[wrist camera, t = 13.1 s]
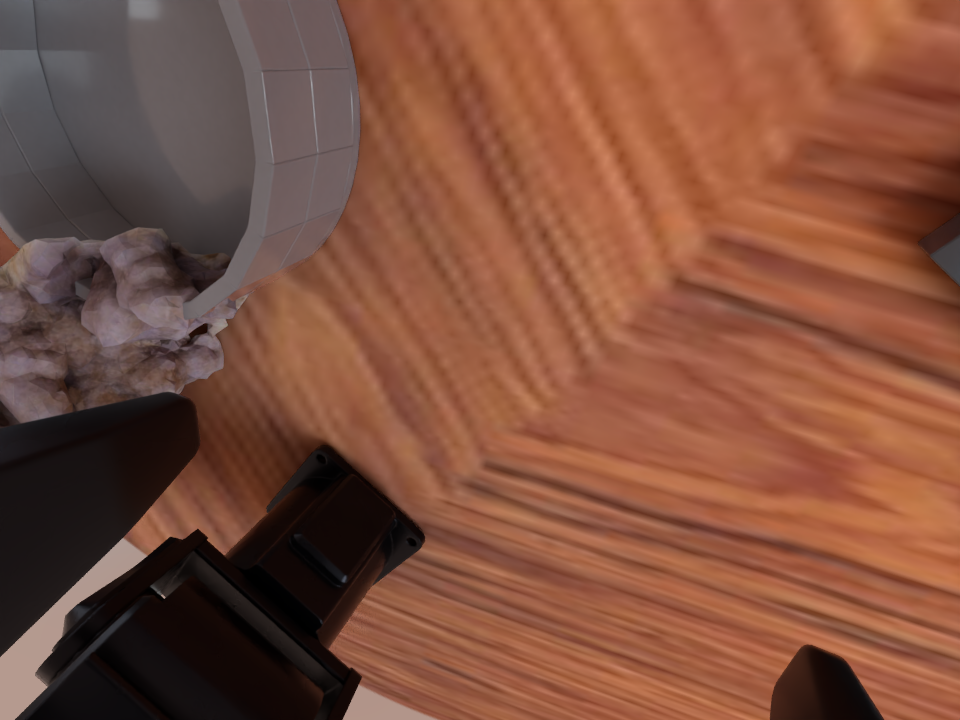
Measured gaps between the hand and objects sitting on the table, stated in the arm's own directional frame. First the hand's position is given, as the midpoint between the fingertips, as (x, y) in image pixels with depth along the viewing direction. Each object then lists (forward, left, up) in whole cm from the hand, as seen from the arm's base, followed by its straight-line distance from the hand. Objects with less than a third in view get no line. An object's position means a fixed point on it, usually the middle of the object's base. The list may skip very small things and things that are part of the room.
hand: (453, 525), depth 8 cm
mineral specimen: (-19, +13, -12) cm, 26 cm away
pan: (-6, +15, -12) cm, 20 cm away
